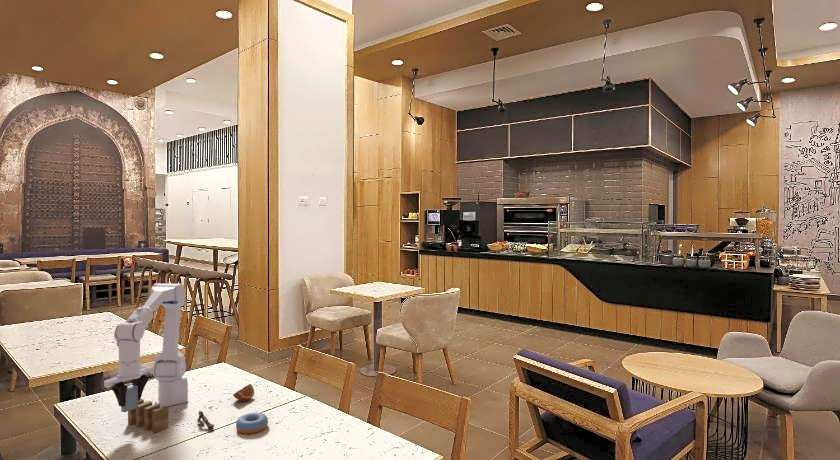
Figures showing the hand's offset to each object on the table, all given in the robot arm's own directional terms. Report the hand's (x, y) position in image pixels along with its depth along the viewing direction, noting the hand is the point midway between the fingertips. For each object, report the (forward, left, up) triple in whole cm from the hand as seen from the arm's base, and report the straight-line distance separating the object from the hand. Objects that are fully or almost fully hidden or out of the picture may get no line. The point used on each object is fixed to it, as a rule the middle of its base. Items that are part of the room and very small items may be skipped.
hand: (129, 402), depth 149 cm
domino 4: (-6, -1, -10) cm, 12 cm away
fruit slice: (-37, -5, -10) cm, 39 cm away
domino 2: (-3, -8, -10) cm, 13 cm away
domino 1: (0, 0, -2) cm, 2 cm away
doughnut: (-32, +19, -10) cm, 39 cm away
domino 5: (-8, +3, -10) cm, 13 cm away
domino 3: (-5, -4, -10) cm, 12 cm away
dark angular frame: (-20, +9, -10) cm, 24 cm away
